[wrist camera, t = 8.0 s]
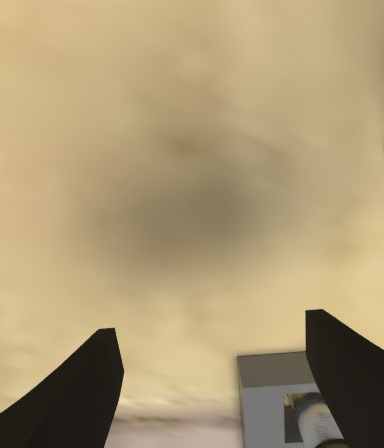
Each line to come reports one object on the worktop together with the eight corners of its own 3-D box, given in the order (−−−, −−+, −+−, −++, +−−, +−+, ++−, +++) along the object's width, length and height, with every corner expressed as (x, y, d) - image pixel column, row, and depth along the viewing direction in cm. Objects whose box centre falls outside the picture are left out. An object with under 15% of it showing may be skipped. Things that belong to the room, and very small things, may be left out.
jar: (323, 361, 24) (373, 452, 17) (326, 395, 24) (374, 495, 18) (279, 367, 24) (311, 459, 17) (283, 401, 25) (315, 501, 18)
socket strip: (373, 346, 23) (398, 377, 20) (364, 462, 26) (384, 502, 24) (237, 356, 24) (242, 388, 21) (245, 468, 27) (250, 509, 24)
